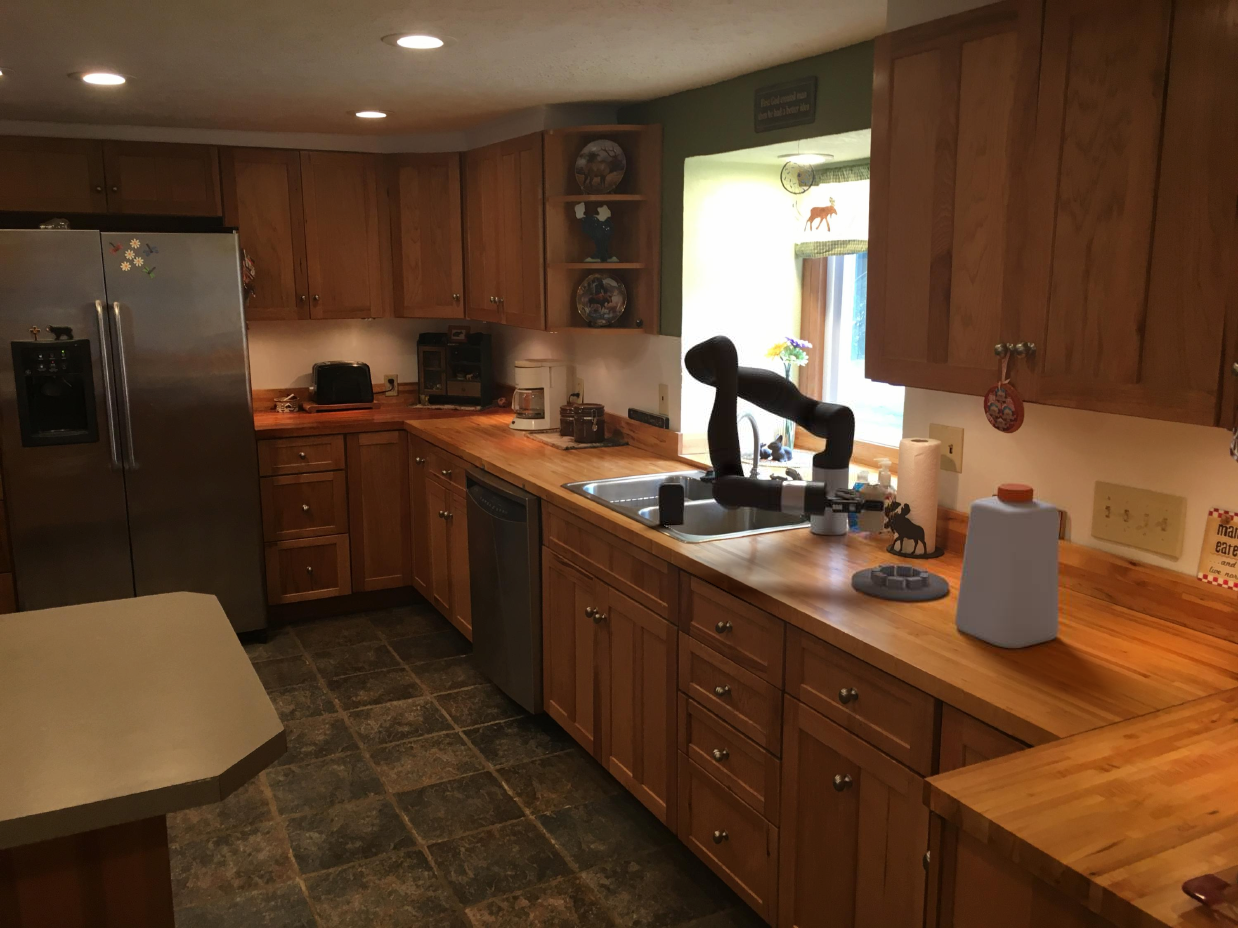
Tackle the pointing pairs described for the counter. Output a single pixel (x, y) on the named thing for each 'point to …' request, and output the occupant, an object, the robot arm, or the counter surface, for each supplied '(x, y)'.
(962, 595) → the plastic bottle
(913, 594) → the candle dish
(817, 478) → the robot arm
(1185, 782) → the counter surface
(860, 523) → the candle
